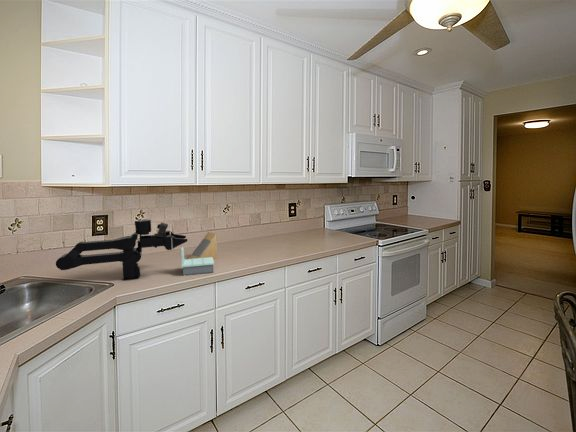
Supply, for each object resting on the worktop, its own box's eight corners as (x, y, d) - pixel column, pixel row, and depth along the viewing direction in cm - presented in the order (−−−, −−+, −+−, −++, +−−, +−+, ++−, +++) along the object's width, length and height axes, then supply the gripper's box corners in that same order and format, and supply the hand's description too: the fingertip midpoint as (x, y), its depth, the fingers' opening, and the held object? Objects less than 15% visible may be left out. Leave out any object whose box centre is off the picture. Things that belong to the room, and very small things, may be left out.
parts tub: (183, 275, 140) (182, 267, 140) (183, 269, 150) (183, 261, 149) (213, 272, 144) (213, 264, 144) (212, 266, 154) (211, 259, 153)
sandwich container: (184, 262, 163) (183, 235, 161) (209, 256, 174) (208, 231, 172) (192, 265, 157) (191, 237, 155) (217, 259, 168) (216, 233, 166)
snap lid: (181, 267, 139) (180, 251, 138) (182, 261, 149) (181, 246, 148) (214, 264, 144) (213, 248, 143) (212, 258, 154) (212, 244, 153)
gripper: (150, 227, 130) (187, 225, 136) (151, 221, 147) (184, 220, 153) (152, 251, 131) (188, 248, 138) (152, 243, 148) (185, 240, 155)
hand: (186, 238), depth 146 cm, fingers open, 9 cm apart
